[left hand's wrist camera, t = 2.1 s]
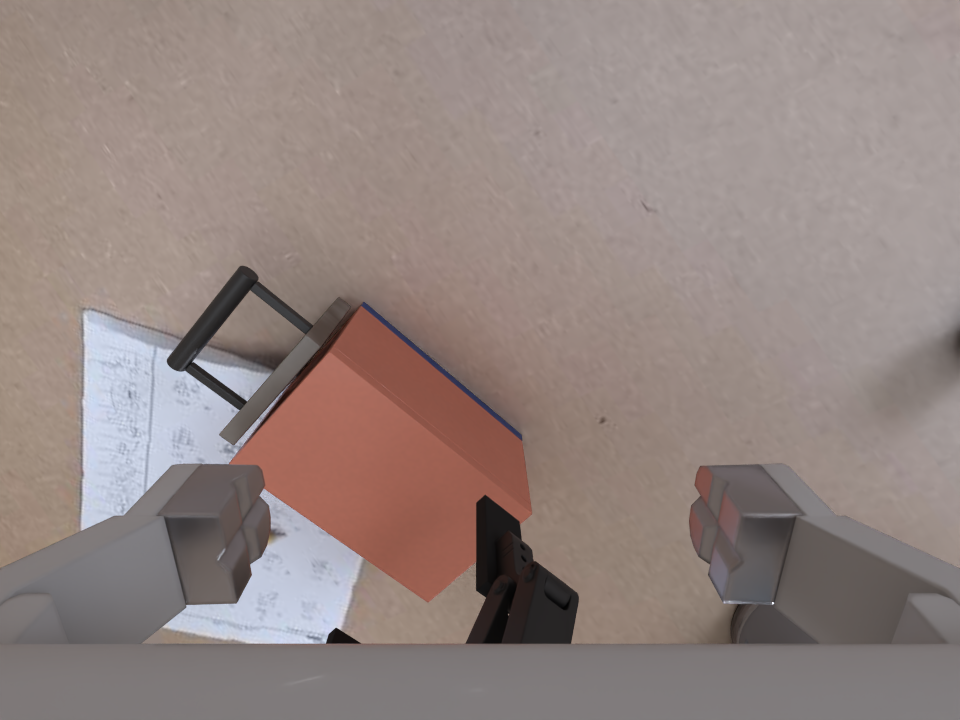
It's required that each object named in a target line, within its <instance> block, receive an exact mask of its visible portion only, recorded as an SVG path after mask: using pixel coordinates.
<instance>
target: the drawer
mask: <svg viewBox="0 0 960 720" xmlns="http://www.w3.org/2000/svg"><path fill="white" fill-rule="evenodd" d="M257 281H258V276H257V274H256V273H255V272H254V271H253V270H251V269H250V268H248V267H246V266H240V267H239V268H238V269H237V271H236V272H235V273H234V274H233V276H232V277H231V278H230V279H229V281H228V282H227V283H226V285H225V286H224V287H223V288H222V290H221V291H220V292H219V293H218V295H217V296H216V297H215V299H214V300H213V301H212V302H211V304H210V305H209V306H208V308H207V309H206V310H205V311H204V313H203V314H202V315H201V316H200V318H199V319H198V320H197V322H196V323H195V324H194V325H193V327H192V328H191V329H190V330H189V332H188V333H187V334H186V336H185V337H184V338H183V339H182V341H181V342H180V343H179V344H178V346H177V347H176V348H175V350H174V351H173V352H172V353H171V355H170V356H169V357H168V359H167V363H168V365H169V366H170V367H171V368H172V369H174V370H176V371H186V372H188V373H189V374H190V375H192V376H193V377H195V378H196V379H197V380H199V381H200V382H201V383H203V384H204V385H206V386H207V387H208V388H210V389H211V390H212V391H214V392H215V393H217V394H218V395H219V396H221V397H222V398H223V399H225V400H226V401H228V402H229V403H230V404H232V405H233V406H234V407H236V408H237V409H239V410H240V411H239V412H238V413H237V414H236V415H235V417H234V418H233V419H232V420H231V421H230V422H229V424H228V425H227V426H226V427H225V428H224V429H223V430H222V432H221V433H220V434H219V435H220V436H221V437H222V438H224V439H225V440H227V441H228V442H229V443H231V444H232V445H235V444H236V443H237V441H238V440H239V439H240V438H241V437H242V436H243V435H244V433H245V432H246V431H247V430H248V429H249V428H250V427H251V426H252V424H253V423H254V422H255V421H256V420H257V419H258V418H259V417H260V415H261V414H262V413H263V412H264V411H265V410H266V409H267V408H268V406H269V405H270V404H271V403H272V402H273V401H274V400H275V399H276V397H277V396H278V395H279V394H280V393H281V392H282V391H283V390H284V388H285V387H286V386H287V385H288V384H289V383H290V382H291V380H292V379H293V378H294V377H295V376H296V375H297V374H298V373H299V371H300V370H301V369H302V368H303V367H304V366H305V365H306V364H307V362H308V361H309V360H310V359H311V358H312V357H313V356H314V355H315V353H316V352H317V351H318V350H319V349H320V348H321V346H322V345H323V344H324V342H325V341H326V340H327V339H328V337H329V336H330V335H331V333H332V332H333V331H334V329H335V328H336V327H337V325H338V324H339V323H340V321H341V320H342V319H343V317H344V316H345V315H346V313H347V312H348V311H349V309H350V308H351V306H349V305H348V304H347V303H346V302H345V301H343V300H342V299H341V298H340V297H338V298H337V300H336V301H335V302H334V303H333V304H332V305H331V306H330V308H329V309H328V310H327V311H326V312H325V313H324V314H323V315H322V317H321V318H320V319H319V320H318V321H317V322H316V323H315V325H314V326H313V325H312V324H310V323H309V322H308V321H307V320H305V319H304V318H303V317H302V316H300V315H299V314H298V313H297V312H295V311H294V310H293V309H292V308H290V307H289V306H288V305H287V304H285V303H284V302H283V301H282V300H281V299H279V298H278V297H277V296H276V295H274V294H273V293H272V292H271V291H269V290H268V289H267V288H266V287H264V286H263V285H262V284H261V283H259V282H257ZM250 290H251V291H252V292H253V293H255V294H256V295H257V296H258V297H260V298H261V299H262V300H263V301H265V302H266V303H267V304H268V305H270V306H271V307H272V308H273V309H275V310H276V311H277V312H278V313H280V314H281V315H282V316H283V317H285V318H286V319H287V320H288V321H290V322H291V323H292V324H293V325H295V326H296V327H297V328H298V329H300V330H301V331H302V332H303V333H305V334H306V335H305V336H304V337H303V338H302V339H301V341H300V342H299V343H298V344H297V345H296V346H295V348H294V349H293V350H292V351H291V352H290V353H289V354H288V356H287V357H286V358H285V359H284V360H283V361H282V362H281V364H280V365H279V366H278V367H277V368H276V369H275V371H274V372H273V373H272V374H271V375H270V376H269V377H268V379H267V380H266V381H265V382H264V383H263V384H262V386H261V387H260V388H259V389H258V390H257V391H256V392H255V394H254V395H253V396H252V397H251V398H250V399H249V401H248V402H247V401H246V400H244V399H243V398H242V397H240V396H239V395H237V394H236V393H235V392H233V391H232V390H231V389H229V388H228V387H227V386H225V385H224V384H222V383H221V382H220V381H218V380H217V379H216V378H214V377H213V376H212V375H210V374H209V373H208V372H206V371H205V370H203V369H202V368H201V367H199V366H198V365H197V364H195V363H194V362H193V360H194V359H195V358H196V357H197V355H198V354H199V353H200V352H201V350H202V349H203V348H204V347H205V345H206V344H207V343H208V342H209V340H210V339H211V338H212V337H213V335H214V334H215V333H216V332H217V330H218V329H219V328H220V327H221V325H222V324H223V323H224V322H225V321H226V319H227V318H228V317H229V316H230V314H231V313H232V312H233V311H234V309H235V308H236V307H237V306H238V304H239V303H240V302H241V301H242V299H243V298H244V297H245V296H246V294H247V293H248V292H249V291H250Z"/></svg>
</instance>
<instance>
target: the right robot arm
mask: <svg viewBox="0 0 960 720" xmlns="http://www.w3.org/2000/svg"><path fill="white" fill-rule="evenodd" d="M476 591H478V592H479V593H480V594H482V595H483V596H485V597H486V600H485V602H484V604H483V606H482V608H481V611H480V613H479V615H478V617H477V620H476V622H475V624H474V626H473V628H472V631H471V633H470V635H469V637H468V639H467V642H466V644H571V640H572V635H573V629H574V624H575V618H576V613H577V607H578V602H579V596H578V594H577V592H575V591H574V590H573V589H571V588H570V587H569V586H568V585H566V584H565V583H564V582H562V581H561V580H560V579H558V578H557V577H556V576H554V575H553V574H552V573H551V572H549V571H548V570H547V569H545V568H544V567H542V566H541V565H540V564H538V563H537V562H536V561H533V554H532V550H531V548H530V547H529V546H528V545H527V544H526V543H524V542H523V541H522V539H521V530H520V521H519V520H517V519H516V518H515V517H513V516H512V515H511V514H510V513H508V512H507V511H506V510H504V509H503V508H502V507H501V506H499V505H498V504H497V503H495V502H494V501H493V500H492V499H490V498H489V497H488V496H486V495H484V496H483V497H482V498H481V499H480V500H479V501H477V502H476ZM508 614H509V616H508ZM731 638H732V642H733V644H819V643H818V642H817V641H815V640H814V639H813V638H812V637H810V636H809V635H808V634H807V633H805V632H804V631H803V630H802V629H800V628H799V627H798V626H797V625H795V624H794V623H793V622H792V621H790V620H789V619H788V618H787V617H785V616H784V615H783V614H782V613H780V612H779V611H778V610H777V609H775V608H774V605H761V604H739V606H738V607H737V609H736V611H735V613H734V616H733V619H732V624H731ZM326 644H361V643H360V642H358V641H356V640H355V639H353V638H352V637H350V636H349V635H347V634H345V633H344V632H342V631H341V630H339V629H337V628H335V629H334V630H333V631H332V632H331V633H329V635H328V639H327V642H326Z"/></svg>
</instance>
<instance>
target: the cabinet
mask: <svg viewBox="0 0 960 720" xmlns="http://www.w3.org/2000/svg"><path fill="white" fill-rule="evenodd" d="M229 464H234V465H258V466H259V467H260V468H261V469H262V471H263V476H264V481H265V487H264V489H265V490H267V491H268V492H270V493H271V494H273V495H274V496H275V497H277V498H278V499H280V500H281V501H283V502H284V503H285V504H287V505H288V506H290V507H291V508H293V509H294V510H296V511H297V512H298V513H300V514H301V515H303V516H304V517H306V518H307V519H309V520H310V521H311V522H313V523H314V524H316V525H317V526H319V527H320V528H321V529H323V530H324V531H326V532H327V533H329V534H330V535H332V536H333V537H334V538H336V539H337V540H339V541H340V542H342V543H343V544H344V545H346V546H347V547H349V548H350V549H352V550H353V551H355V552H356V553H357V554H359V555H360V556H362V557H363V558H365V559H366V560H368V561H369V562H370V563H372V564H373V565H375V566H376V567H378V568H379V569H380V570H382V571H383V572H385V573H386V574H388V575H389V576H391V577H392V578H393V579H395V580H396V581H398V582H399V583H401V584H402V585H404V586H405V587H406V588H408V589H409V590H411V591H412V592H414V593H415V594H416V595H418V596H419V597H421V598H422V599H424V600H425V601H427V602H429V601H431V600H432V599H433V598H434V597H435V596H436V595H438V594H439V593H440V592H441V591H442V590H444V589H445V588H446V587H447V586H448V585H449V584H451V583H452V582H453V581H454V580H455V579H456V578H458V577H459V576H460V575H461V574H462V573H464V572H465V571H466V570H467V569H468V568H469V567H471V566H472V565H473V564H474V563H475V562H476V502H477V501H479V500H480V499H481V498H482V497H483V496H484V495H486V496H488V497H489V498H490V499H492V500H493V501H494V502H495V503H497V504H498V505H499V506H501V507H502V508H503V509H504V510H506V511H507V512H508V513H510V514H511V515H512V516H513V517H515V518H516V519H517V520H519V521H520V524H521V523H522V522H524V521H525V520H526V519H527V518H528V517H529V516H531V515H532V509H531V502H530V495H529V487H528V480H527V473H526V466H525V459H524V452H523V445H522V435H521V434H520V433H519V432H518V431H516V430H515V429H514V428H513V427H512V426H510V425H509V424H508V423H507V422H506V421H505V420H503V419H502V418H501V417H500V416H499V415H497V414H496V413H495V412H494V411H493V410H492V409H490V408H489V407H488V406H487V405H486V404H484V403H483V402H482V401H481V400H480V399H478V398H477V397H476V396H475V395H474V394H473V393H471V392H470V391H469V390H468V389H467V388H465V387H464V386H463V385H462V384H461V383H460V382H458V381H457V380H456V379H455V378H454V377H452V376H451V375H450V374H449V373H448V372H447V371H445V370H444V369H443V368H442V367H441V366H439V365H438V364H437V363H436V362H435V361H433V360H432V359H431V358H430V357H429V356H428V355H426V354H425V353H424V352H423V351H422V350H420V349H419V348H418V347H417V346H416V345H415V344H413V343H412V342H411V341H410V340H409V339H407V338H406V337H405V336H404V335H403V334H402V333H400V332H399V331H398V330H397V329H396V328H394V327H393V326H392V325H391V324H390V323H388V322H387V321H386V320H385V319H384V318H383V317H381V316H380V315H379V314H378V313H377V312H375V311H374V310H373V309H372V308H371V307H370V306H368V305H367V304H366V303H365V302H363V304H362V305H361V306H360V307H359V308H358V309H357V310H356V312H355V313H354V314H353V315H352V316H351V317H350V318H349V319H348V321H347V322H346V323H345V324H344V325H343V326H342V327H341V328H340V330H339V331H338V332H337V333H336V334H335V335H334V336H333V337H332V339H331V340H330V341H329V342H328V343H327V344H326V345H325V346H324V348H323V349H322V350H321V351H320V352H319V353H318V354H317V355H316V357H315V358H314V359H313V360H312V361H311V362H310V363H309V364H308V366H307V367H306V368H305V369H304V370H303V371H302V372H301V373H300V375H299V376H298V377H297V378H296V379H295V380H294V381H293V382H292V384H291V385H290V386H289V387H288V388H287V389H286V390H285V391H284V392H283V393H282V395H281V396H280V397H279V399H278V400H277V402H276V403H275V404H274V405H273V407H272V408H271V409H270V411H269V412H268V413H267V415H266V416H265V417H264V419H263V420H262V421H261V422H260V424H259V425H258V426H257V428H256V429H255V430H254V432H253V433H252V434H251V436H250V437H249V438H248V439H247V441H246V442H245V443H244V445H243V446H242V447H241V449H240V450H239V451H238V452H237V454H236V455H235V456H234V458H233V459H232V460H231V462H230V463H229Z"/></svg>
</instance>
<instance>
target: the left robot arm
mask: <svg viewBox="0 0 960 720" xmlns="http://www.w3.org/2000/svg"><path fill="white" fill-rule="evenodd" d="M264 487H265V481H264V476H263V471H262V469H261V468H260V467H259V466H258V465H234V464H176V465H172V466H171V467H170V468H169V469H168V470H167V471H166V472H165V473H164V474H163V475H162V476H161V477H160V478H159V479H158V480H157V481H156V482H155V483H154V485H153V486H152V487H151V488H150V489H149V490H148V491H147V492H146V493H145V494H144V495H143V496H142V497H141V498H140V499H139V500H138V501H137V502H136V503H135V504H134V505H133V506H132V507H131V508H130V510H129V511H128V512H127V513H126V514H125V515H124V516H113V517H111V518H109V519H107V520H104V521H102V522H100V523H98V524H96V525H93V526H91V527H89V528H87V529H85V530H83V531H80V532H78V533H76V534H74V535H72V536H69V537H67V538H65V539H63V540H61V541H59V542H56V543H54V544H52V545H50V546H48V547H46V548H43V549H41V550H39V551H37V552H35V553H32V554H30V555H28V556H26V557H24V558H22V559H19V560H17V561H15V562H13V563H11V564H9V565H6V566H4V567H2V568H0V720H960V568H958V567H956V566H953V565H951V564H949V563H947V562H945V561H942V560H940V559H938V558H936V557H934V556H932V555H929V554H927V553H925V552H923V551H921V550H919V549H916V548H914V547H912V546H910V545H908V544H906V543H903V542H901V541H899V540H897V539H895V538H893V537H890V536H888V535H886V534H884V533H882V532H880V531H877V530H875V529H873V528H871V527H869V526H866V525H864V524H862V523H860V522H858V521H856V520H853V519H851V518H849V517H847V516H836V515H835V514H834V513H833V512H832V511H831V509H830V508H829V507H828V506H827V505H826V504H825V503H824V502H823V501H822V500H821V499H820V498H819V497H818V496H817V495H816V494H815V493H814V492H813V491H812V490H811V489H810V488H809V487H808V485H807V484H806V483H805V482H804V481H803V480H802V479H801V478H800V477H799V476H798V475H797V474H796V473H795V472H794V471H793V470H792V469H791V468H790V467H789V466H787V465H785V464H782V463H778V464H754V465H715V466H700V468H699V470H698V472H697V474H696V480H695V487H696V489H697V490H698V492H699V494H700V495H701V496H700V497H699V498H698V499H697V500H696V501H695V502H694V503H693V504H692V505H691V510H690V518H689V525H690V536H691V539H692V543H693V546H694V548H695V550H696V552H697V554H698V556H699V557H700V558H701V559H703V560H704V561H706V562H707V563H709V564H710V567H709V573H708V576H709V577H710V579H711V581H712V583H713V585H714V587H715V589H716V590H717V592H718V594H719V596H720V598H721V600H722V602H723V603H724V604H761V605H774V608H775V609H777V610H778V611H779V612H780V613H782V614H783V615H784V616H785V617H787V618H788V619H789V620H790V621H792V622H793V623H794V624H795V625H797V626H798V627H799V628H800V629H802V630H803V631H804V632H805V633H807V634H808V635H809V636H810V637H812V638H813V639H814V640H815V641H817V642H818V643H819V644H141V643H142V642H144V641H145V640H146V639H147V638H149V637H150V636H151V635H152V634H154V633H155V632H156V631H157V630H159V629H160V628H161V627H162V626H164V625H165V624H166V623H167V622H169V621H170V620H171V619H172V618H174V617H175V616H176V615H177V614H179V613H180V612H181V611H182V610H184V609H185V608H186V605H199V604H234V603H237V602H238V600H239V598H240V596H241V594H242V592H243V590H244V589H245V587H246V585H247V583H248V581H249V579H250V577H251V575H252V573H251V568H250V564H251V563H253V562H254V561H256V560H257V559H259V558H260V557H261V556H262V554H263V552H264V550H265V548H266V546H267V543H268V539H269V534H270V526H271V516H270V510H269V505H268V504H267V503H266V502H265V501H264V500H263V499H262V498H261V497H260V496H259V495H260V493H261V492H262V490H263V489H264Z"/></svg>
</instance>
